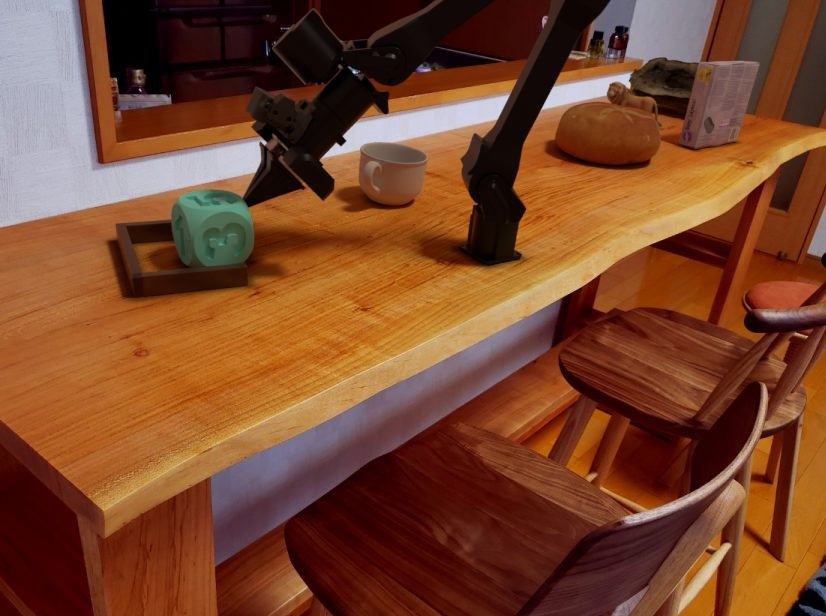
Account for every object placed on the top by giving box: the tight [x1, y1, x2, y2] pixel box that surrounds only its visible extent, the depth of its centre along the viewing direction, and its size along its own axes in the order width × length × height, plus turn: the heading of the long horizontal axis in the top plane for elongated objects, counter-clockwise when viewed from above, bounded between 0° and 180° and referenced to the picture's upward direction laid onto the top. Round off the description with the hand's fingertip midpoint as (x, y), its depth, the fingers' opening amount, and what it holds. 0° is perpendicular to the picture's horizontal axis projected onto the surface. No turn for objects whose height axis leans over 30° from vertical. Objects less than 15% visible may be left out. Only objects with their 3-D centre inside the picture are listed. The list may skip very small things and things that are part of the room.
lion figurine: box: [606, 81, 663, 128], centre depth 181 cm, size 15×5×9 cm, turn 62°
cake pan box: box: [678, 60, 761, 150], centre depth 167 cm, size 19×5×18 cm, turn 128°
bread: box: [554, 101, 662, 166], centre depth 153 cm, size 23×23×10 cm
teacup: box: [358, 141, 429, 206], centre depth 118 cm, size 14×11×8 cm
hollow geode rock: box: [628, 56, 699, 115], centre depth 196 cm, size 28×13×15 cm
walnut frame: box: [114, 219, 249, 298], centre depth 94 cm, size 13×17×2 cm
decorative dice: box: [170, 188, 255, 268], centre depth 94 cm, size 8×8×8 cm
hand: (244, 204), depth 94 cm, fingers closed
